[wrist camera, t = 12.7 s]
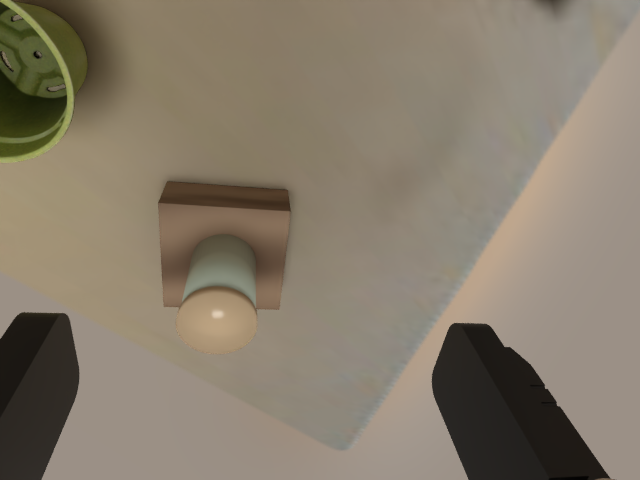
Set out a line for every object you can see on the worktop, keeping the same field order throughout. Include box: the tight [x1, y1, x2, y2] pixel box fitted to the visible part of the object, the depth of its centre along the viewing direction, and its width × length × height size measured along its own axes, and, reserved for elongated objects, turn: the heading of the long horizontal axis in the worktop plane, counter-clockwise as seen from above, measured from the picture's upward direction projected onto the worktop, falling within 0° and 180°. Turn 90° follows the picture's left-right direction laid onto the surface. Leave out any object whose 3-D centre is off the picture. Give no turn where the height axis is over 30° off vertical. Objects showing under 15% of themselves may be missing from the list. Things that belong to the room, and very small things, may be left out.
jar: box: [176, 234, 257, 354], centre depth 33 cm, size 5×5×8 cm
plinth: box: [158, 182, 291, 310], centre depth 38 cm, size 10×10×4 cm
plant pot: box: [0, 0, 88, 163], centre depth 27 cm, size 9×9×9 cm
